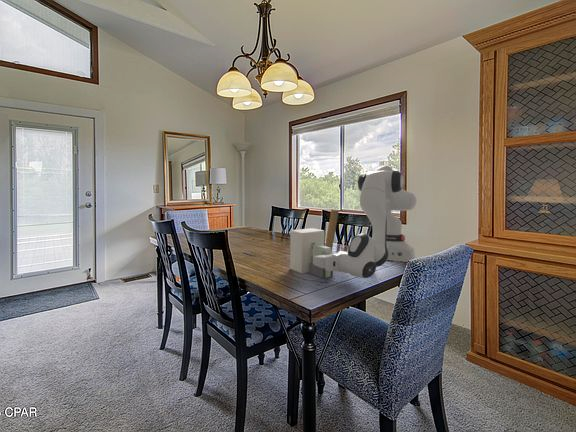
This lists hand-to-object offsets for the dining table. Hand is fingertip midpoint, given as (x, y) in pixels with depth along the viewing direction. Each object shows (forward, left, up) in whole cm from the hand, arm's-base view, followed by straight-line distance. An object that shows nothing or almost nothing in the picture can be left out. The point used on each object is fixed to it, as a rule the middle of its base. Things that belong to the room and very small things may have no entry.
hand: (322, 255), depth 148 cm
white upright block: (+1, -1, -10) cm, 10 cm away
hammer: (+8, -28, -10) cm, 30 cm away
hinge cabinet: (+6, -3, -10) cm, 12 cm away
